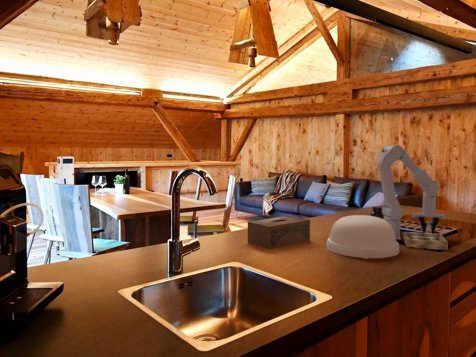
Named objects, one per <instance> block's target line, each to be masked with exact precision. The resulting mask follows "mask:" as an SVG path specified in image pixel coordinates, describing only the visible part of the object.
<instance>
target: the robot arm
mask: <svg viewBox="0 0 476 357" xmlns="http://www.w3.org/2000/svg"><path fill="white" fill-rule="evenodd" d="M379 153H380V156H379V159H378V162H377V167H378V172H379V178H380V183H381V184H380V185H381V189H382V193H383V199H384V200H383V201H382V213H383V215H384V219H383V220H385V221H387V222H388V223H389V224H390V225H391V226H392V228H393V230H394V233H395V238H396V240H402V238H401V235H400V234H401V233H400V232H401V218H402V217H403V215H404V211H403V208H401V205H400V202H399V201H398V199H397V196H396V195H397V194H396V190H395V185H394V179H393V173H392V165H393V164H394V163H395V162H396V161H400V162H401V163H403V165H404V166H405V167H406V168H408V170H410V172H411V176H412V178H413V179H414V180H415V181H416V182H417V183H418V184H419V185H420V189H421V191H422V211H421V212H412V213H411V214H412V215H411V217H412V218H417V219H418V221H419V224H420V226H421V233H425V228H424V226H425V222H426V219H432V220H431V222H432V223H433V227H432V234H435V231H436V228H437V226H438V225H439V222H440V220H441V219H442V220H446V219H447V218H446V217H447V215H446V214H441V213H436V210H437V209H436V207H437V192H438V191H439V189H440V186H439V183H438V182H437V181H436V180H433V177H432V176H430V175H429V174H428V173H427V170H426V169H425V168H423V167H418V165H417V164H416V163H415V162H414V160H413V158H411V157H410V155H409V154H408V153H407V151H406V150H405V149H404V148H403V147H402V145H399V144H395V145H394V144H392V145H391V144H388V145H384V147H383V148H382V149H381V150H380V152H379Z"/></svg>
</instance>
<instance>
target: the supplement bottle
mask: <svg viewBox="0 0 476 357" xmlns="http://www.w3.org/2000/svg"><path fill="white" fill-rule="evenodd" d="M382 208H383V206H377V205H376V206H372V209H371V210H372V211H371V212H370V213H369V216H373V217H378V218H381V219H384V215H383V213H382Z"/></svg>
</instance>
